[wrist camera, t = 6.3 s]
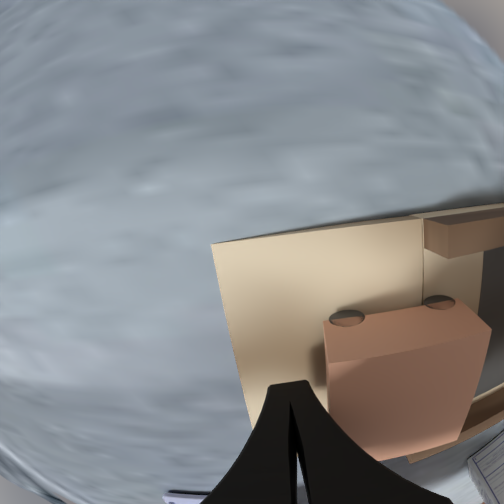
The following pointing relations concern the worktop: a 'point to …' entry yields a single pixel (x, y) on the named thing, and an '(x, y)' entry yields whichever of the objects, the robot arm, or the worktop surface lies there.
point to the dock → (360, 295)
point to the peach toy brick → (404, 374)
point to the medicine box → (489, 471)
